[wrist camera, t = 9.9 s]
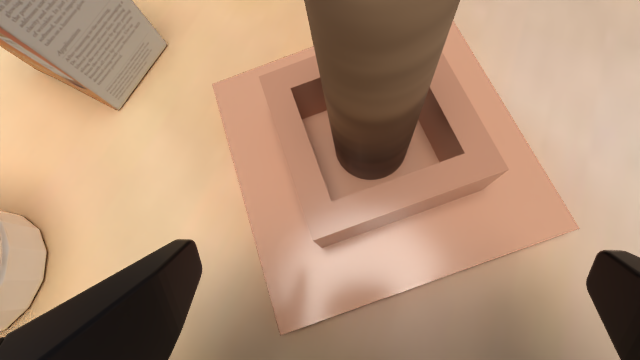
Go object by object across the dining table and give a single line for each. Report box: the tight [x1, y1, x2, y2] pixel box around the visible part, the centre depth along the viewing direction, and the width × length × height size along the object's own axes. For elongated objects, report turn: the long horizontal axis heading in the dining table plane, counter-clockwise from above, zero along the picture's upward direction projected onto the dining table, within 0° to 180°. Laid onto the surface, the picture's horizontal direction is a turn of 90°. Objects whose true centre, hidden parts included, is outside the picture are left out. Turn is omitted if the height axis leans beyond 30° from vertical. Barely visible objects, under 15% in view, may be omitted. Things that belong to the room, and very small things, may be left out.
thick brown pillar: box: [304, 0, 460, 180], centre depth 11 cm, size 4×4×13 cm
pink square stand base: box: [212, 21, 579, 335], centre depth 16 cm, size 14×14×4 cm
